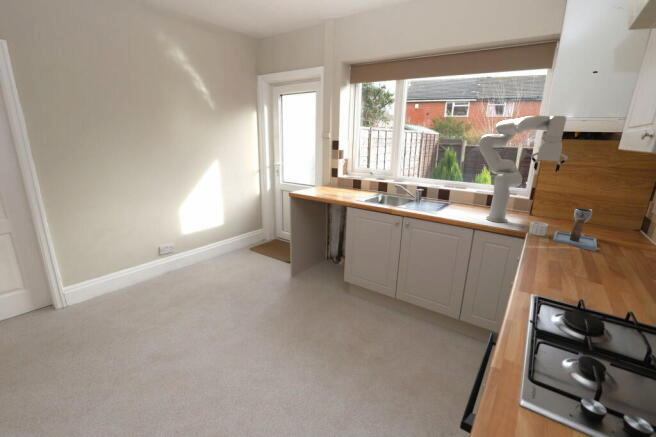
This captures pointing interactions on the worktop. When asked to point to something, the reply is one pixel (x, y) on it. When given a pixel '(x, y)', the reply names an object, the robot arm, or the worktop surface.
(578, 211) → the wine glass
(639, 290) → the worktop surface
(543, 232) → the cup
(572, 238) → the dowel
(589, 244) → the tray
